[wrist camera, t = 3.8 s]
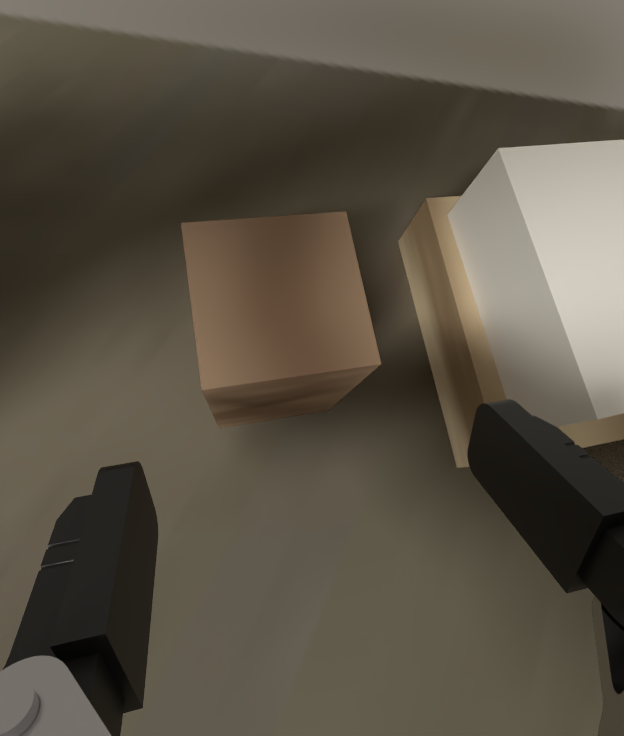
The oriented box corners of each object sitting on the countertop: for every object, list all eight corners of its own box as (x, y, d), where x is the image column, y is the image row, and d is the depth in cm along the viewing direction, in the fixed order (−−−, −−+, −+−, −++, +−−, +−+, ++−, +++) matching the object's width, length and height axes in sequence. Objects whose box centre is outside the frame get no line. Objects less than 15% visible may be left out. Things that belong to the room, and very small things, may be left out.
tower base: (452, 468, 20) (501, 464, 16) (395, 245, 23) (425, 198, 19) (655, 426, 23) (740, 415, 19) (582, 228, 25) (642, 184, 22)
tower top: (517, 433, 17) (597, 419, 13) (447, 214, 19) (497, 148, 15) (711, 389, 19) (829, 365, 15) (627, 196, 21) (712, 133, 17)
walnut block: (219, 428, 19) (201, 390, 11) (205, 323, 20) (180, 222, 12) (328, 410, 20) (381, 364, 12) (308, 311, 21) (345, 211, 13)
